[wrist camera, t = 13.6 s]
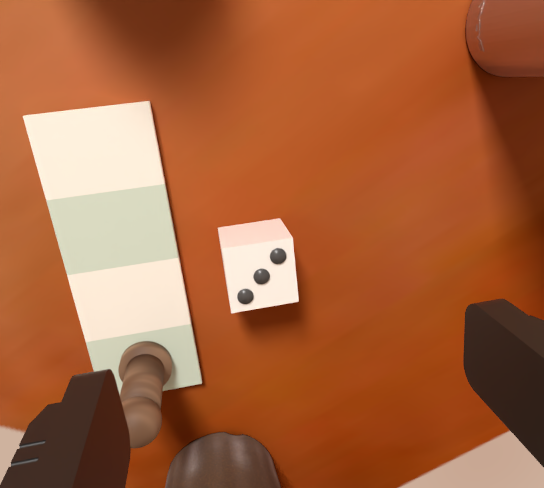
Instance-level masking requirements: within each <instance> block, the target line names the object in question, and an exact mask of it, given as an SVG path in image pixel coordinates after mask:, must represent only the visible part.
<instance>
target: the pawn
mask: <svg viewBox="0 0 544 488" xmlns="http://www.w3.org/2000/svg"><path fill="white" fill-rule="evenodd" d="M118 372H119V377H120V379H121V381H122V382H123V384H122V388H121V393H120V398H121V402H122V406H123V410H124V413H125V417H126V421H127V425H128V429H129V435H130V448H140V447H143V446H146V445H147V444H149V443H151V442H152V441H153V440H154V439H155V438H156V436H157V435H158V433H159V431H160V429H161V425H162V414H161V401H162V390H163V386H164V385H165V384H166V383H167V381H168V380H169V378H170V376H171V372H172V358H171V355H170V353H169V351H168V350H167V349H166V348H165V347H164V346H162V345H160V344H158V343H156V342H152V341H142V342H138V343H135V344H133V345H131V346H129V347H128V348H127V349H126V350H125V351H124V353H123V354H122V356H121V360H120V364H119V369H118Z"/></svg>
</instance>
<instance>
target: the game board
mask: <svg viewBox="0 0 544 488" xmlns="http://www.w3.org/2000/svg"><path fill="white" fill-rule="evenodd" d="M23 119H24V122H25V126H26V129H27V133H28V137H29V140H30V144H31V147H32V151H33V154H34V158H35V162H36V165H37V169H38V172H39V176H40V180H41V183H42V187H43V190H44V194H45V197H46V201H47V205H48V208H49V212H50V215H51V219H52V223H53V226H54V230H55V233H56V237H57V241H58V244H59V248H60V251H61V255H62V258H63V262H64V266H65V269H66V273H67V276H68V280H69V284H70V287H71V291H72V294H73V298H74V301H75V305H76V309H77V312H78V316H79V319H80V323H81V327H82V330H83V334H84V337H85V341H86V345H87V348H88V352H89V355H90V359H91V362H92V366H93V370H94V372H95V371H100V370H106V369H111V370H112V372H113V374H114V376H115V380H116V383H117V387H118V391H119V395H120V393H121V388H122V384H123V382H122V381H121V379H120V377H119V372H118V369H119V364H120V360H121V356H122V354H123V353H124V351H125V350H126V349H127V348H128V347H129V346H131V345H133V344H135V343H138V342H142V341H152V342H156V343H158V344H160V345H162V346H164V347H165V348H166V349H167V350H168V351H169V353H170V355H171V358H172V372H171V376H170V378H169V380H168V381H167V383H166V384H165V385H164V386H163V390H162V391H165V390H171V389H176V388H181V387H187V386H192V385H197V384H202V376H201V371H200V365H199V360H198V354H197V349H196V344H195V338H194V333H193V328H192V322H191V317H190V312H189V306H188V301H187V296H186V290H185V285H184V280H183V274H182V269H181V264H180V258H179V253H178V248H177V242H176V237H175V232H174V226H173V221H172V216H171V210H170V205H169V200H168V194H167V189H166V184H165V178H164V173H163V168H162V162H161V157H160V152H159V146H158V141H157V136H156V130H155V125H154V120H153V114H152V109H151V103H150V101H143V102H135V103H126V104H118V105H109V106H101V107H92V108H84V109H75V110H67V111H58V112H50V113H41V114H33V115H25V116H23Z"/></svg>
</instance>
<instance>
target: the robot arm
mask: <svg viewBox="0 0 544 488" xmlns="http://www.w3.org/2000/svg"><path fill="white" fill-rule="evenodd" d="M466 40H467V44H468V48H469V51H470V53H471V55H472V57H473V59H474V60H475V62H476V63H477V64H478V65H479V66H480V67H481V68H482V69H483V70H485V71H486V72H488V73H490V74H493V75H495V76H501V77H544V0H473V1H472V3H471V5H470V8H469V12H468V15H467V22H466ZM464 370H465V374H466V377H467V379H468V382H469V384H470V385H471V387H472V388H473V390H474V391H475V392H476V393H477V394H478V395H479V396H480V398H481V399H482V400H483V401H484V402H485V403H486V404H487V405H488V406H489V407H490V409H491V410H492V411H493V412H494V413H495V414H496V415H497V416H498V417H499V419H500V420H501V421H502V422H503V423H504V424H505V425H506V426H507V427H508V428H509V430H510V431H511V432H512V433H513V434H514V435H515V436H516V437H517V438H518V439H519V441H520V442H521V443H522V444H523V445H524V446H525V447H526V448H527V449H528V451H529V452H530V453H531V454H532V455H533V456H534V457H535V458H536V459H537V460H538V462H540V464H541V465H542V466H543V467H544V320H541V319H539V318H536V317H533V316H531V315H530V316H528V315H527V314H526V313H524V312H523V311H521V310H520V309H518V308H517V307H516V306H514V305H513V304H511V303H510V302H508V301H507V300H505V299H496V300H491V301H485V302H480V303H474V304H470V305H469V306H468V307H467V309H466V312H465V334H464ZM19 446H20V448H19V449H17V451H16V453H15V455H14V457H13V459H12V462H11V467H9V468H8V470H7V472H6V474H5V476H4V478H3V480H2V482H1V485H0V488H125V485H126V479H127V473H128V467H129V461H130V435H129V429H128V425H127V421H126V417H125V413H124V410H123V406H122V402H121V398H120V395H119V391H118V387H117V383H116V380H115V376H114V374H113V372H112V370H111V369H106V370H100V371H95V372H89V373H84V374H78V375H74V376H72V378H71V380H70V382H69V385H68V387H67V389H66V392H65V394H64V397H63V399H62V402H60V403H55V404H50V405H47V406H46V407H45V408H44V409H43V411H42V412H41V413H40V414H39V415H38V416H37V417H36V418H35V419H34V420H33V421H32V422H31V423H30V424H29V426H28V428H27V430H26V432H25V434H24V436H23V438H22V440H21V443H20V445H19Z"/></svg>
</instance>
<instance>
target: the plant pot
mask: <svg viewBox="0 0 544 488" xmlns="http://www.w3.org/2000/svg"><path fill="white" fill-rule="evenodd" d="M165 488H281V486H280V483H279V479H278V476H277V473H276V470H275V466H274V463H273V460H272V458H271V456H270V454H269V452H268V451H267V449H266V448H265V447H264V446H263V445H262V444H261V443H259V442H258V441H257V440H255V439H253V438H252V437H250V436H247V435H244V434H242V435H231V434H228V433H226V432H219V433H214V434H209V435H206V436H204V437H201V438H199V439H197V440H195V441H193V442H191V443H190V444H188V445H187V446H186V447H184V448H183V449H182V450H181V451H180V452H179V453H178V454H177V455H176V456H175V458H174V459H173V461H172V463H171V465H170V468H169V471H168V475H167V480H166V487H165Z"/></svg>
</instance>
